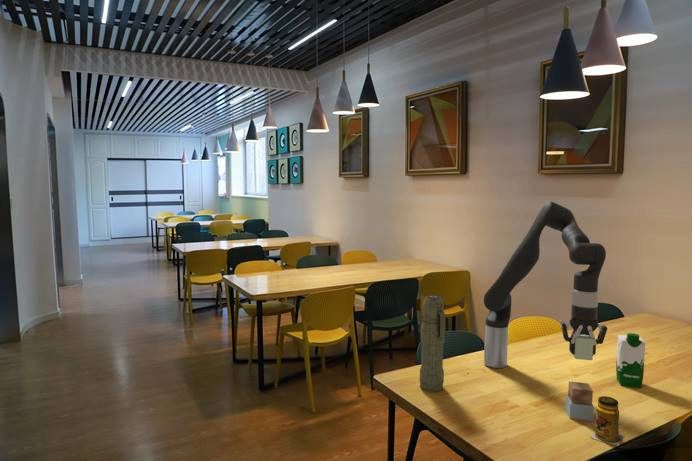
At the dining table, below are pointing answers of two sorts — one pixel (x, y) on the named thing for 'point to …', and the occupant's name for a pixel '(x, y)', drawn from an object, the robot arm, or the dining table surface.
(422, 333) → the thermos
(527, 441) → the dining table surface
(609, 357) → the dining table surface
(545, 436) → the dining table surface
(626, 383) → the milk carton
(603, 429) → the condiment
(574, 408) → the tower base
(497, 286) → the robot arm
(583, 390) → the tower top
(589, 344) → the green block
